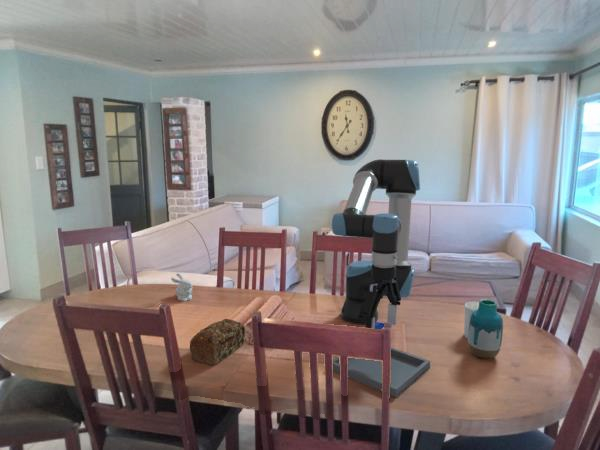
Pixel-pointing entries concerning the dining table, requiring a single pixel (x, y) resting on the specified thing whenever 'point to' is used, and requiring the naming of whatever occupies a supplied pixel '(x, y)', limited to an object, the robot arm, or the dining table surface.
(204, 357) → the bread
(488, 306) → the vase
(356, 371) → the tray
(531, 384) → the dining table surface
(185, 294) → the rabbit
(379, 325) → the toy car
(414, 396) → the dining table surface
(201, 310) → the dining table surface
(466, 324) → the candle holder
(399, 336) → the dining table surface
